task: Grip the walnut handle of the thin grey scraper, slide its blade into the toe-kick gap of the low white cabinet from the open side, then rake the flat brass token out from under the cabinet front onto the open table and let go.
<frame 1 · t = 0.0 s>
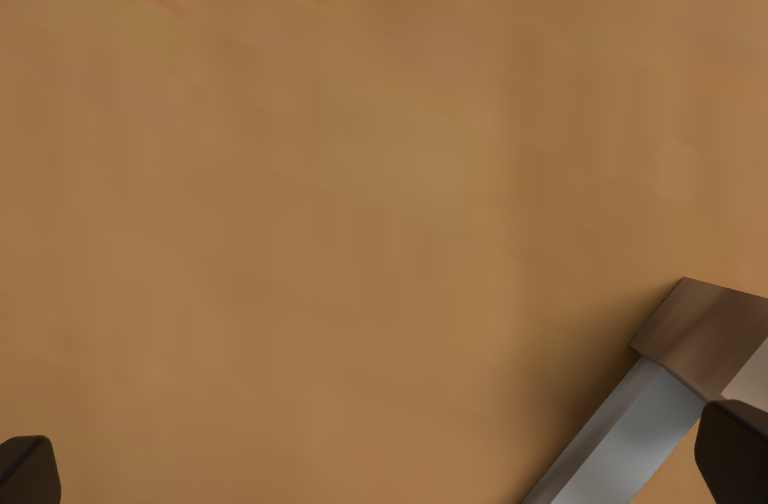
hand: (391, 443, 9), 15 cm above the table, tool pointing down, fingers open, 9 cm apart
blade tool: (691, 340, 26), on the table
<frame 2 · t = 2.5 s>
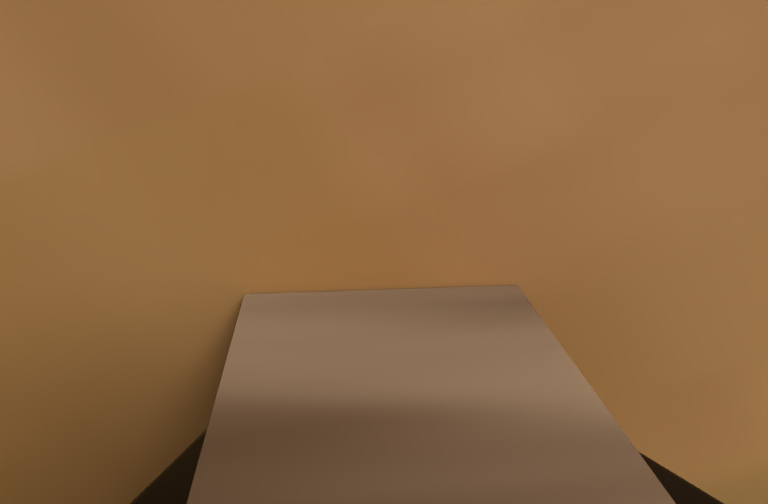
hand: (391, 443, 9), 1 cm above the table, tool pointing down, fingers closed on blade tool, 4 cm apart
blade tool: (383, 392, 10), on the table, touching gripper
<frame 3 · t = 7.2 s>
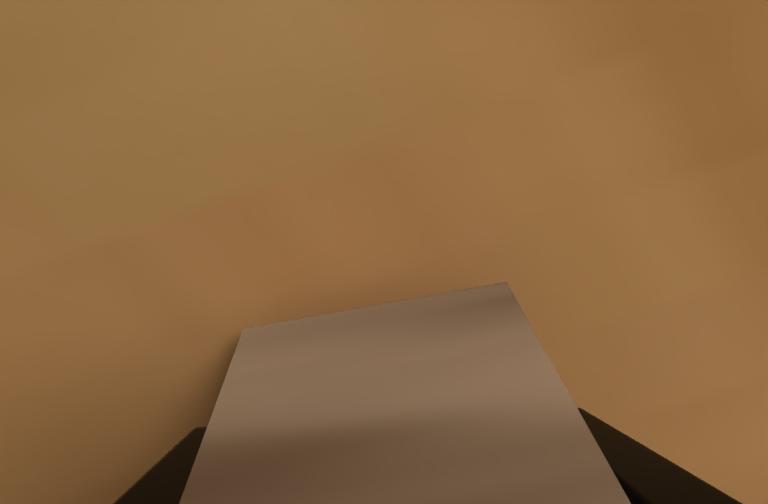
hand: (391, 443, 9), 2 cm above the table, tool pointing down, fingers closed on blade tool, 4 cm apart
blade tool: (393, 403, 10), point 1 cm above the table, touching gripper, token
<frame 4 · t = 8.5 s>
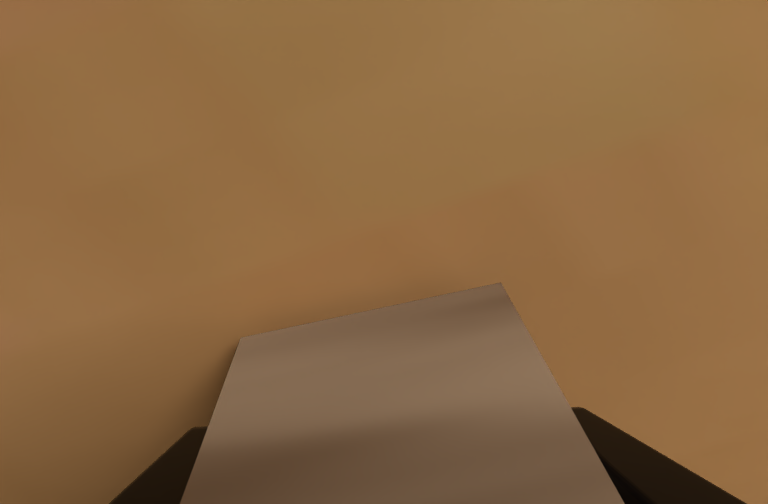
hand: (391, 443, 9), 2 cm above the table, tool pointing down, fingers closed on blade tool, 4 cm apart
blade tool: (393, 407, 10), on the table, touching gripper
when the fingers open (2 cm above the table, at t = 9.6 s): blade tool stays where it is, on the table.
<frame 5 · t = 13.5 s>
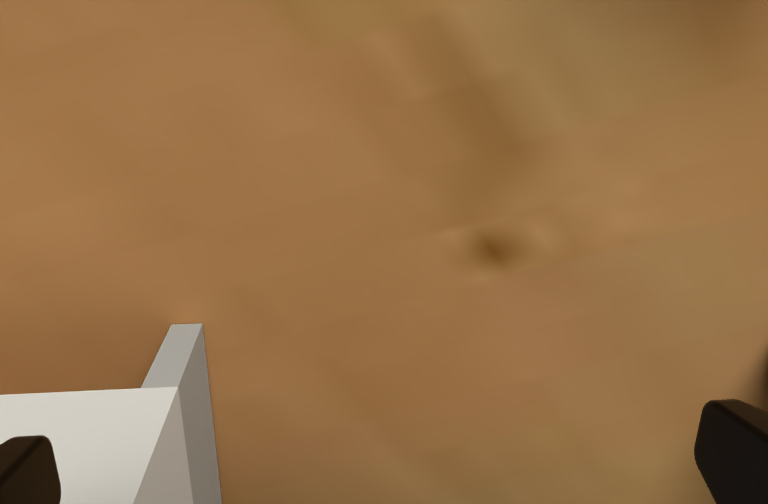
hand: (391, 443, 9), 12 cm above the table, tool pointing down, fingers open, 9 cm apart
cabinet: (36, 470, 22), on the table
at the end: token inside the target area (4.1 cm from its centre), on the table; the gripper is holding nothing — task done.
